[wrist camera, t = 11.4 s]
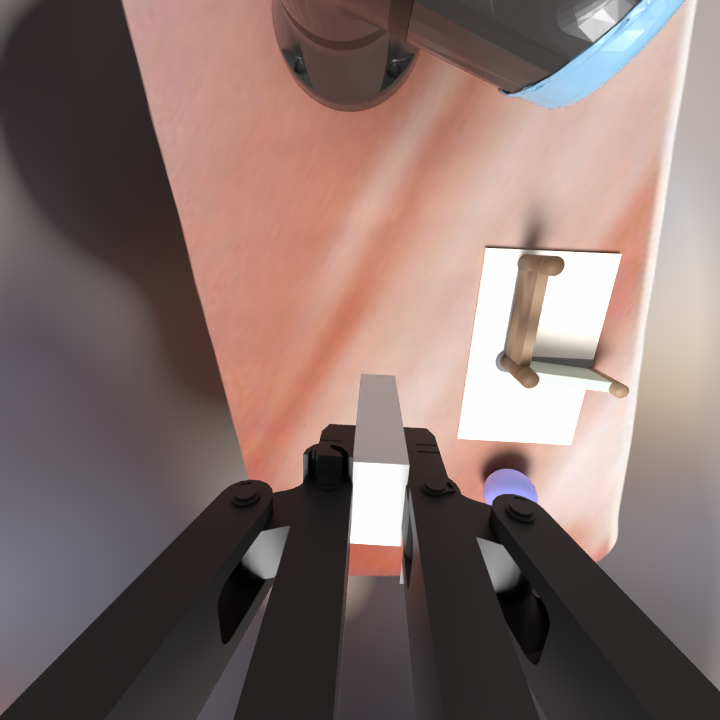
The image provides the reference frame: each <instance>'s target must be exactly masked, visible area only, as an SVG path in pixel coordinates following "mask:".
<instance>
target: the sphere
mask: <svg viewBox="0 0 720 720" xmlns="http://www.w3.org/2000/svg"><path fill="white" fill-rule="evenodd" d="M502 494H516V495H519V496H523V497H526V498H528V499H530V500H532V501H534V502H536V503H537V493H536V490H535V487H534V485H533V484H532V482H531V481H530V480H529V478H528V477H527V476H525V475H524V474H522V473H521V472H519V471H516V470H513V469H500V470H497V471H495V472H493V473H492V474H491V475H490V476H489V477H488V478H487V480H486V482H485V484H484V489H483V496H484V499H485V502H486V504H488V505H492V501H493V500H494V499H495V498H496V497H497V496H499V495H502Z"/></svg>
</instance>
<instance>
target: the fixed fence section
mask: <svg viewBox="0 0 720 720" xmlns="http://www.w3.org/2000/svg"><path fill="white" fill-rule="evenodd" d="M517 265H518V268H519V269H520V272H519V278H518V283H517V289H516V294H515V300H514V305H513V311H512V316H511V322H510V327H509V333H508V338H507V344H506V349H505V354H506V355H504V356H503V357H502V358H501V360H500V364H501V366H502V367H503V368H504V369H505V370H506V371H507V372H508V373H510V374H511V375H512V376H513V377H514V378H515V379H516V380H517V381H518V382H519V383H520V384H521V385H522V386H523V387H525V388H527V389H531V388H534V387H536V386H537V385H538V383H539V376H538V375H537V374H536V373H535V372H534V371H532V370H531V369H530V368H529V367H530V364H531V359H532V354H533V349H534V344H535V340H536V335H537V330H538V325H539V320H540V316H541V311H542V306H543V301H544V296H545V292H546V287H547V282H548V277H549V276H557V275H559V274H560V273H561V272H562V271H563V269H564V267H565V262H564V260H563V259H562V258H561V257H559V256H549V255H532V254H525V255H523V256H521V257H520V258H519V260H518V263H517ZM527 366H528V367H527Z"/></svg>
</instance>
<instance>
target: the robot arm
mask: <svg viewBox="0 0 720 720" xmlns="http://www.w3.org/2000/svg"><path fill="white" fill-rule="evenodd" d="M684 1H685V0H272V17H273V25H274V30H275V35H276V39H277V43H278V46H279V49H280V51H281V54H282V56H283V58H284V61H285V63H286V65H287V67H288V69H289V71H290V73H291V74H292V76H293V78H294V79H295V81H296V82H297V83H298V85H299V86H300V87H301V88H302V89H303V90H304V91H305V92H306V93H307V94H308V95H309V96H310V97H311V98H313V99H314V100H315V101H317V102H318V103H320V104H322V105H324V106H326V107H329V108H331V109H335V110H339V111H346V112H355V111H362V110H366V109H369V108H372V107H375V106H377V105H379V104H381V103H382V102H384V101H385V100H387V99H388V98H390V97H391V96H392V95H393V94H394V93H395V92H396V91H397V90H398V89H399V88H400V87H401V86H402V85H403V84H404V82H405V81H406V79H407V78H408V76H409V75H410V73H411V71H412V70H413V68H414V66H415V63H416V61H417V58H418V56H419V53H420V49H421V50H423V51H425V52H427V53H429V54H431V55H433V56H435V57H437V58H439V59H441V60H443V61H445V62H448V63H450V64H452V65H454V66H456V67H458V68H460V69H462V70H464V71H466V72H468V73H470V74H472V75H474V76H476V77H478V78H480V79H482V80H484V81H486V82H488V83H490V84H492V85H494V86H496V87H498V90H499V92H500V93H502V94H503V95H505V96H507V97H519V98H521V99H524V100H526V101H528V102H531V103H533V104H535V105H538V106H540V107H543V108H548V109H553V108H560V107H566V106H569V105H571V104H574V103H576V102H578V101H580V100H581V99H583V98H585V97H587V96H588V95H590V94H591V93H593V92H594V91H595V90H597V89H598V88H600V87H601V86H602V85H603V84H605V83H606V82H607V81H608V80H610V79H611V78H612V77H613V76H614V75H615V74H617V73H618V72H619V71H620V70H621V69H622V68H623V67H624V66H625V65H626V64H628V63H629V62H630V61H631V60H632V59H633V58H634V57H635V56H636V55H637V54H638V53H639V52H640V51H641V50H642V49H643V48H644V47H645V46H646V45H647V44H648V43H649V42H650V40H651V39H652V38H653V37H654V36H655V35H656V34H657V33H658V32H659V31H660V30H661V28H662V27H663V26H664V25H665V24H666V23H667V22H668V20H669V19H670V18H671V17H672V16H673V15H674V13H675V12H676V11H677V10H678V9H679V7H680V6H681V5H682V3H683V2H684ZM402 537H403V547H404V548H403V558H402V567H401V577H400V584H404V592H405V603H406V615H407V626H408V637H409V649H410V661H411V672H412V683H413V695H414V707H415V718H416V720H540V719H539V716H538V713H537V710H536V707H535V704H534V702H533V699H532V696H531V693H530V690H529V687H528V685H529V686H530V688H531V690H532V692H533V694H534V695H535V697H536V699H537V701H538V703H539V705H540V706H541V708H542V710H543V712H544V714H545V716H546V717H547V719H548V720H720V691H719V690H718V689H717V688H716V687H715V686H714V685H713V684H712V683H711V682H710V681H709V680H708V679H707V678H706V677H705V676H704V675H703V674H702V673H701V671H700V670H699V669H698V668H697V667H696V666H695V665H694V664H693V663H692V662H691V661H690V660H689V659H688V658H687V657H686V656H685V655H684V654H683V653H682V652H681V651H680V650H679V649H678V648H677V647H676V646H675V645H674V644H673V642H672V641H671V640H670V639H669V638H668V637H667V636H666V635H665V634H664V633H663V632H662V631H661V630H660V629H659V628H658V627H657V626H656V625H655V624H654V623H653V622H652V621H651V620H650V619H649V618H648V617H647V616H646V614H644V612H643V611H642V610H641V609H640V608H639V607H638V606H637V605H636V604H635V603H634V602H633V601H632V600H631V599H630V598H629V597H628V596H627V595H626V594H625V593H624V592H623V591H622V590H621V589H620V588H619V587H618V585H617V584H616V583H615V582H614V581H613V580H612V579H611V578H610V577H609V576H608V575H607V574H606V573H605V572H604V571H603V570H602V569H601V568H600V567H599V566H598V565H597V564H596V563H595V562H594V561H593V560H592V559H591V558H590V556H589V555H588V554H587V553H586V552H585V551H584V550H583V549H582V548H581V547H580V546H579V545H578V544H577V543H576V542H575V541H574V540H573V539H572V538H571V537H570V536H569V535H568V534H567V533H566V532H565V531H564V530H563V528H562V527H561V526H560V525H559V524H558V523H557V522H556V521H555V520H554V519H553V518H552V517H551V516H550V515H549V514H548V513H547V512H546V511H545V510H544V509H543V508H542V507H541V506H539V505H538V504H537V503H536V502H534V501H532V500H530V499H528V498H526V497H523V496H519V495H516V494H502V495H499V496H497V497H496V498H495V499H494V500H493V501H492V505H488V504H485V503H481V502H478V501H475V500H472V499H469V498H467V497H465V496H463V495H461V492H460V490H459V488H458V486H457V485H456V483H454V482H453V481H452V480H450V479H449V478H448V476H447V473H446V470H445V467H444V464H443V461H442V458H441V455H440V451H439V448H438V447H437V442H436V439H435V436H434V435H433V434H432V433H431V432H430V431H429V430H428V429H426V428H408V427H403V422H402V416H401V410H400V404H399V398H398V392H397V386H396V380H395V376H387V375H368V374H361V379H360V390H359V400H358V410H357V421H356V426H355V425H337V424H329V425H328V426H327V427H326V428H325V429H324V430H323V431H322V433H321V437H320V441H319V444H315V445H313V446H311V447H309V448H308V449H307V450H306V451H305V452H304V454H303V484H301V485H300V486H298V487H295V488H293V489H290V490H286V491H280V492H274V493H273V492H272V488H271V487H270V486H269V485H268V484H267V483H265V482H262V481H259V480H246V481H240V482H238V483H235V484H233V485H230V486H229V487H228V488H226V489H225V490H224V491H223V492H222V493H221V494H220V495H219V496H218V497H217V498H216V499H215V500H214V501H213V502H212V503H211V504H210V505H209V506H208V507H207V508H206V509H205V510H204V511H203V512H202V513H201V514H200V515H199V516H198V517H197V518H196V519H195V520H194V521H193V522H192V523H191V524H190V525H189V526H188V527H187V528H186V529H185V530H184V531H183V532H182V533H181V534H180V535H179V536H178V537H177V538H176V539H175V540H174V541H173V542H172V543H171V544H170V545H169V546H168V547H167V548H166V549H165V550H164V551H163V552H162V553H161V554H160V555H159V556H158V557H157V558H156V559H155V560H154V561H153V562H152V563H151V564H150V565H149V566H148V567H147V568H146V569H145V570H144V571H143V572H142V574H140V575H139V576H138V577H137V578H136V579H135V580H134V581H133V582H132V583H131V585H129V586H128V587H127V588H126V589H125V590H124V591H123V593H121V594H120V595H119V597H118V598H117V599H116V600H115V601H114V602H113V603H112V604H111V605H110V606H109V607H108V608H107V609H106V610H105V611H104V612H103V613H102V614H101V615H100V616H99V617H98V618H97V619H96V620H95V621H94V622H93V623H92V624H91V625H90V626H89V627H88V628H87V629H86V630H85V631H84V632H83V633H82V634H81V635H80V636H79V637H78V638H77V639H76V640H75V641H74V642H73V643H72V644H71V645H70V646H69V647H68V648H67V649H66V650H65V651H64V652H63V653H62V654H61V655H60V656H59V657H58V658H57V659H56V660H55V661H54V662H53V663H52V664H51V665H50V666H49V667H48V668H47V669H46V670H45V671H44V672H43V673H42V675H40V676H39V677H38V678H37V679H36V680H35V681H34V682H33V683H32V684H31V685H30V686H29V687H28V688H27V689H26V690H25V692H23V693H22V694H21V695H20V696H19V698H17V699H16V701H15V702H14V703H13V704H11V706H10V707H9V708H8V709H7V710H6V711H5V712H4V713H3V714H2V715H1V716H0V720H196V719H197V717H198V715H199V713H200V712H201V710H202V708H203V706H204V705H205V703H206V701H207V699H208V698H209V696H210V694H211V692H212V690H213V689H214V687H215V685H216V683H217V682H218V680H219V678H220V676H221V675H222V673H223V671H224V669H225V668H226V666H227V664H228V662H229V660H230V659H231V657H232V655H233V653H234V652H235V650H236V648H237V646H238V645H239V643H240V641H241V639H242V638H243V636H244V634H245V632H246V630H247V629H248V627H249V625H250V623H251V621H252V620H253V618H254V616H255V615H256V612H257V611H258V609H259V608H260V606H261V604H262V602H263V600H264V599H265V597H266V595H267V593H268V592H269V589H270V588H271V586H272V585H273V587H272V590H271V593H270V597H269V600H268V604H267V607H266V611H265V614H264V617H263V621H262V624H261V628H260V631H259V634H258V638H257V641H256V645H255V648H254V651H253V655H252V658H251V662H250V665H249V669H248V672H247V675H246V679H245V682H244V686H243V689H242V692H241V696H240V699H239V703H238V706H237V709H236V713H235V716H234V720H337V719H338V705H339V692H340V678H341V664H342V651H343V636H344V624H345V610H346V597H347V583H348V570H349V554H350V543H358V544H374V545H389V546H401V543H402ZM526 681H527V682H526ZM527 683H528V685H527Z"/></svg>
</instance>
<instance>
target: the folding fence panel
mask: <svg viewBox="0 0 720 720" xmlns="http://www.w3.org/2000/svg"><path fill="white" fill-rule="evenodd" d="M527 367H528V366H527ZM529 368H530V369H531V370H532V371H534V372H535V373H536V374H537V375H538V376H539V383H545V384H552V385H559V386H567V387H574V388H581V389H588V390H596V391H603V392H609V393H611V394H612V395H614V396H615V397H617V398H623V397H625V396H627V394H628V393H629V388H628V387H627V386H625V385H624V384H622V383H620V382H618V381H616V380H615V379H613V378H611V377H609V376H607V375H606V374H604V373H602V372H600V371H598V370H597V369H595V368H588V369H587V368H580V367H573V366H565V365H558V364H551V363H544V362H537V361H531V364H530V367H529Z"/></svg>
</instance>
